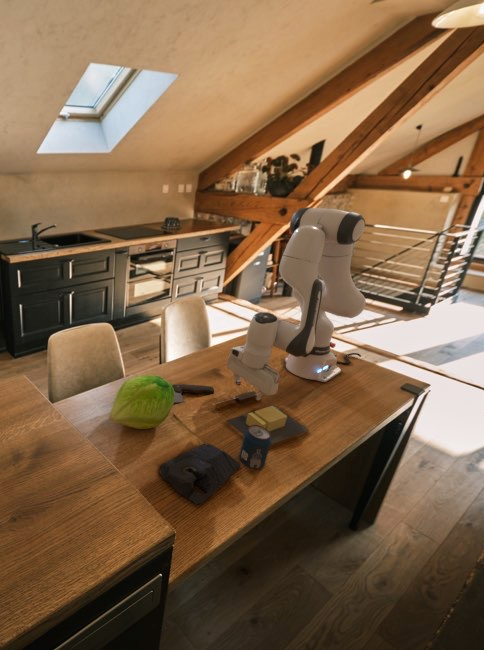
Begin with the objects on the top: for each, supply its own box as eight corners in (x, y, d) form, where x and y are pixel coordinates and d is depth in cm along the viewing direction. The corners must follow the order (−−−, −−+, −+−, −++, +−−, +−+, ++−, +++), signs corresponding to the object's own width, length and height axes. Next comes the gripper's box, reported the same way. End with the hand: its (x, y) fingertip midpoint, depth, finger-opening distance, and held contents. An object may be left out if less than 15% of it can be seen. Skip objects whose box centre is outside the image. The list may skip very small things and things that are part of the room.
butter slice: (249, 421, 127) (251, 412, 126) (263, 433, 122) (266, 423, 121) (245, 423, 127) (248, 413, 125) (260, 434, 122) (262, 424, 120)
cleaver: (209, 387, 148) (210, 382, 147) (219, 402, 139) (220, 397, 138) (134, 389, 145) (134, 384, 145) (140, 405, 137) (140, 400, 136)
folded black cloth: (248, 475, 108) (251, 462, 106) (194, 510, 97) (196, 496, 95) (206, 442, 120) (208, 430, 118) (153, 469, 109) (155, 457, 107)
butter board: (272, 408, 137) (276, 395, 135) (308, 433, 125) (312, 420, 123) (225, 423, 128) (228, 410, 126) (258, 452, 117) (262, 438, 114)
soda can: (251, 452, 116) (259, 421, 112) (268, 469, 110) (278, 437, 106) (233, 458, 114) (240, 426, 109) (249, 475, 108) (258, 442, 103)
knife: (251, 397, 142) (253, 389, 141) (257, 401, 140) (259, 393, 139) (212, 409, 135) (213, 401, 134) (216, 413, 133) (218, 405, 132)
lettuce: (105, 441, 127) (88, 392, 128) (163, 411, 138) (146, 366, 139) (135, 448, 110) (115, 392, 111) (197, 413, 121) (179, 362, 122)
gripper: (287, 371, 125) (277, 406, 130) (240, 343, 142) (233, 375, 147) (273, 375, 122) (263, 410, 128) (227, 346, 139) (220, 378, 145)
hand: (246, 391), depth 138 cm, fingers open, 8 cm apart
